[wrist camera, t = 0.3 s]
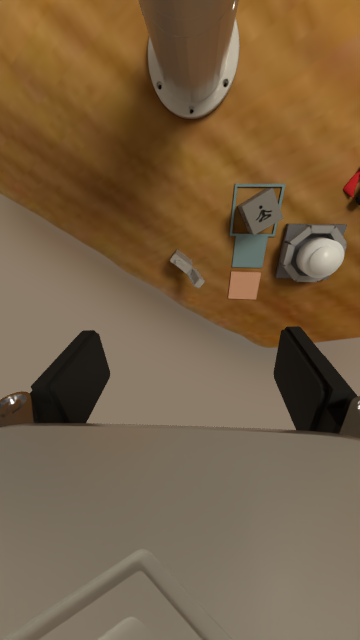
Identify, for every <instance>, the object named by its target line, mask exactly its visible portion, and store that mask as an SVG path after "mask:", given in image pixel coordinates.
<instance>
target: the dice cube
mask: <svg viewBox="0 0 360 640" xmlns="http://www.w3.org/2000/svg"><path fill="white" fill-rule="evenodd" d="M237 207H238V209H239V211H240V214H241V216H242V218H243V221H244V223H245V225H246V228H247V230H248V232H249V233H251V234H253V235H255V234H257V233H259V232H261V231H262V230H264V229H266V228H268V227H269V226H271V225H273V224H275V223H277V222H278V221H280V220H282V219H283V216H282V213H281V210H280V207H279V204H278V202H277V199H276V196H275V193H274V190H273V188H269V189H264V190H262V191H261V192H259V193H258V194H256V195H254V196H253V197H251V198H250V199H248V200H246V201H245V202H243V203H241V204H240V205H238V206H237Z"/></svg>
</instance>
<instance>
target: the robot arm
mask: <svg viewBox="0 0 360 640" xmlns="http://www.w3.org/2000/svg"><path fill="white" fill-rule="evenodd" d="M238 1H239V0H139V4H140V7H141V10H142V13H143V16H144V20H145V23H146V26H147V29H148V33H149V41H148V66H149V72H150V76H151V80H152V84H153V86H154V89H155V91H156V93H157V95H158V97H159V99H160V100H161V102H162V103H163V104H164V106H165V107H166V108H167V109H168V110H169V111H170V112H171V113H173V114H175V115H177V116H178V117H181V118H185V119H196V118H201V117H203V116H205V115H208V114H209V113H211V112H212V111H213V110H215V109H216V108H217V107H218V106H219V104H220V103H221V102H222V101H223V100H224V98H225V96H226V95H227V93H228V92H229V89H230V87H231V85H232V83H233V80H234V77H235V74H236V69H237V65H238V60H239V49H240V45H239V31H238V26H237V21H236V18H235V17H236V12H237V6H238ZM224 84H226V85H227V87H224V86H223V85H224ZM159 86H161V87H162V88H161V89H160V90H159ZM191 110H193V114H191V113H190V111H191ZM109 377H110V370H109V367H108V364H107V360H106V357H105V353H104V350H103V347H102V343H101V340H100V336H99V334H97V333H96V332H95V331H94V330H92V331H91V330H90V331H82V332H81V333H80V334H79V335H78V336H77V337H76V338H75V339H74V340H73V341H72V342H71V343H70V345H69V346H68V347H67V348H66V349H65V350H64V351H63V352H62V353H61V354H60V355H59V356H58V358H57V359H56V360H55V361H54V362H53V363H52V364H51V365H50V366H49V367H48V368H47V370H45V372H44V373H43V374H42V375H41V376H40V377H39V378H38V379H37V380H36V381H35V382H34V383H33V385H32V386H31V388H32V392H31V393H30V394H29V393H28V392H16V393H13V394H10V395H8V396H6V397H4V398H2V399H1V400H0V640H360V396H357V395H356V394H355V392H354V391H353V390H352V389H351V388H350V386H349V385H348V384H347V383H346V381H345V380H344V379H343V378H342V377H341V375H340V374H339V373H338V372H337V370H336V369H335V368H334V367H333V366H332V364H331V363H330V362H329V361H328V360H327V358H326V357H325V356H324V355H323V354H322V353H321V352H320V351H319V349H318V348H317V347H316V346H315V344H314V343H313V342H312V341H311V340H310V338H309V337H308V336H307V335H306V333H305V332H304V331H303V330H302V328H301V327H286V328H285V330H282V331H281V335H280V340H279V346H278V352H277V357H276V363H275V368H274V379H275V381H276V383H277V386H278V388H279V391H280V392H281V395H282V397H283V400H284V402H285V405H286V407H287V409H288V412H289V414H290V416H291V419H292V421H293V423H294V426H295V428H296V430H282V429H260V428H230V427H201V426H200V427H199V426H169V425H134V424H89V423H86V422H87V420H88V418H89V416H90V414H91V412H92V410H93V408H94V407H95V405H96V403H97V401H98V399H99V397H100V395H101V393H102V391H103V389H104V387H105V385H106V383H107V381H108V379H109Z"/></svg>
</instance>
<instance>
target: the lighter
mask: <svg viewBox="0 0 360 640" xmlns="http://www.w3.org/2000/svg"><path fill="white" fill-rule="evenodd" d="M170 262H172V263H173V264H174V265H176V266H177V267H178V268H180V269H181V270H182V271H184V272H185V273H186V274H187V275H188V277H189V279H190V280H191V282H192V284H193V286H195V287H197V288H200V287H201V286H202V285H203V284H204V282H205V281H204V279H203V278H202V276H201V275H200V273H199V272H198V270H196V269H195V268H192V263H193V261H192V260H191V259H189V258H188V257H187V256H186V255H184V254H183V253H182V252H180V251H179V250H178V249H177V250H176V251H175V253H174V254H173V255H172V257H171V259H170Z"/></svg>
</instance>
